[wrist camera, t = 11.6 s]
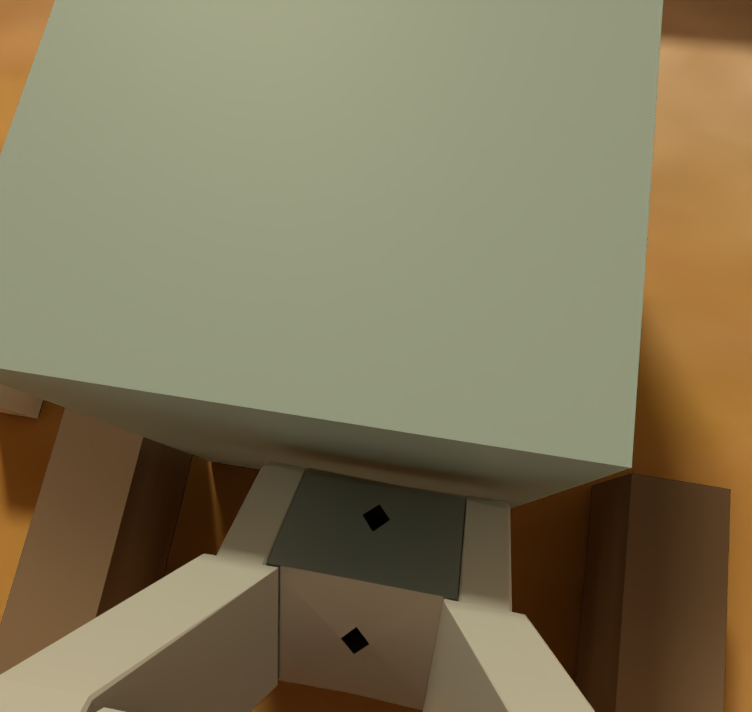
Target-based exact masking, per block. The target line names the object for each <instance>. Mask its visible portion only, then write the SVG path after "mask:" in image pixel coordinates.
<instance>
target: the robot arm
mask: <svg viewBox="0 0 752 712" xmlns="http://www.w3.org/2000/svg"><path fill="white" fill-rule="evenodd" d="M278 680H280V681H285V682H291V683H296V684H302V685H307V686H313V687H318V688H324V689H330V690H335V691H341V692H346V693H351V694H355V695H360V696H364V697H368V698H372V699H376V700H380V701H385V702H389V703H393V704H397V705H401V706H406V707H410V708H414V709H418V710H422V711H423V712H595V711H594V709H593V708H592V706H591V705H590V704H589V702H588V701H587V700H586V698H585V697H584V695H583V694H582V693H581V691H580V690H579V688H578V687H577V686H576V684H575V683H574V681H573V680H572V679H571V677H570V676H569V674H568V673H567V672H566V670H565V669H564V667H563V666H562V665H561V663H560V662H559V661H558V659H557V658H556V656H555V655H554V654H553V652H552V651H551V649H550V648H549V647H548V645H547V644H546V642H545V641H544V640H543V638H542V637H541V635H540V634H539V633H538V631H537V630H536V628H535V627H534V626H533V624H532V623H531V621H530V620H529V619H528V617H527V616H526V615H524V614H519V613H515V612H512V579H511V520H510V506H509V504H508V503H507V502H506V501H499V500H493V499H486V498H479V497H473V496H466V498H465V496H461V495H455V494H449V493H443V492H437V491H431V490H425V489H419V488H413V487H407V486H401V485H395V484H389V483H384V482H379V481H374V480H369V479H364V478H358V477H353V476H348V475H343V474H338V473H333V472H328V471H323V470H318V469H313V468H308V469H307V468H304V467H299V466H294V465H289V464H284V463H278V462H273V461H268V462H267V463H266V464H265V465H264V466H263V467H261V469H260V471H259V473H258V475H257V477H256V479H255V481H254V483H253V485H252V487H251V489H250V490H249V492H248V494H247V496H246V498H245V500H244V502H243V504H242V506H241V508H240V510H239V512H238V514H237V516H236V518H235V520H234V522H233V524H232V525H231V527H230V529H229V531H228V533H227V535H226V537H225V539H224V541H223V543H222V545H221V547H220V549H219V551H218V553H217V555H210V554H204V553H203V554H202V555H200V556H198V557H197V558H195V559H193V560H192V561H190V562H188V563H187V564H185V565H183V566H182V567H180V568H178V569H177V570H175V571H173V572H172V573H170V574H168V575H166V576H165V577H163V578H161V579H160V580H158V581H156V582H155V583H153V584H151V585H150V586H148V587H146V588H145V589H143V590H141V591H140V592H138V593H136V594H135V595H133V596H131V597H130V598H128V599H126V600H125V601H123V602H121V603H120V604H118V605H116V606H115V607H113V608H111V609H110V610H108V611H106V612H105V613H103V614H101V615H100V616H98V617H96V618H95V619H93V620H91V621H89V622H88V623H86V624H84V625H83V626H81V627H79V628H78V629H76V630H74V631H73V632H71V633H69V634H68V635H66V636H64V637H63V638H61V639H59V640H58V641H56V642H54V643H53V644H51V645H49V646H48V647H46V648H44V649H43V650H41V651H39V652H38V653H36V654H34V655H33V656H31V657H29V658H28V659H26V660H24V661H23V662H21V663H19V664H17V665H16V666H14V667H12V668H11V669H9V670H7V671H6V672H4V673H2V674H1V675H0V712H251V711H252V710H253V709H254V708H255V707H256V706H257V705H258V704H259V703H260V702H261V701H262V700H263V699H264V698H265V697H266V696H267V695H268V694H269V693H270V692H271V691H272V690H273V689H274V688H275V687H276V686H277V685H278Z"/></svg>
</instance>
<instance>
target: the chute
mask: <svg viewBox="0 0 752 712" xmlns="http://www.w3.org/2000/svg"><path fill="white" fill-rule="evenodd" d="M192 456H193V455H191V454H189V453H186V452H183V451H180V450H178V449H175V448H172V447H170V446H167V445H164V444H162V443H159V442H156V441H153V440H151V439H148V438H145V437H143V436H140V435H137V434H134V433H132V432H129V431H126V430H124V429H121V428H118V427H116V426H113V425H110V424H107V423H105V422H102V421H99V420H97V419H94V418H91V417H89V416H86V415H83V414H80V413H78V412H75V411H72V410H70V409H67V408H65V409H64V413H63V416H62V419H61V423H60V426H59V429H58V433H57V436H56V440H55V443H54V446H53V450H52V453H51V456H50V460H49V463H48V466H47V470H46V473H45V476H44V480H43V483H42V487H41V490H40V493H39V497H38V500H37V503H36V507H35V510H34V513H33V517H32V520H31V523H30V527H29V530H28V534H27V537H26V540H25V544H24V547H23V550H22V554H21V557H20V560H19V564H18V567H17V571H16V574H15V577H14V581H13V584H12V587H11V591H10V594H9V597H8V601H7V604H6V607H5V611H4V614H3V618H2V621H1V624H0V675H1V674H2V673H4V672H6V671H7V670H9V669H11V668H12V667H14V666H16V665H17V664H19V663H21V662H23V661H24V660H26V659H28V658H29V657H31V656H33V655H34V654H36V653H38V652H39V651H41V650H43V649H44V648H46V647H48V646H49V645H51V644H53V643H54V642H56V641H58V640H59V639H61V638H63V637H64V636H66V635H68V634H69V633H71V632H73V631H74V630H76V629H78V628H79V627H81V626H83V625H84V624H86V623H88V622H89V621H91V620H93V619H95V618H96V617H98V616H100V615H101V614H103V613H105V612H106V611H108V610H110V609H111V608H113V607H115V606H116V605H118V604H120V603H121V602H123V601H125V600H126V599H128V598H130V597H131V596H133V595H135V594H136V593H138V592H140V591H141V590H143V589H145V588H146V587H148V586H150V585H151V584H153V583H155V582H156V581H158V580H160V579H161V578H163V575H164V571H165V567H166V563H167V559H168V555H169V551H170V546H171V542H172V538H173V534H174V530H175V526H176V522H177V518H178V513H179V509H180V505H181V501H182V497H183V493H184V489H185V485H186V480H187V476H188V472H189V468H190V464H191V460H192ZM730 492H731V489H726V488H720V487H714V486H707V485H701V484H695V483H689V482H683V481H676V480H670V479H664V478H658V477H651V476H645V475H639V474H633V473H632V474H628V475H625V476H622V477H619V478H616V479H612V480H609V481H606V482H603V483H599V484H596V485H593V486H592V495H591V507H590V519H589V530H588V542H587V554H586V566H585V577H584V589H583V601H582V613H581V625H580V636H579V648H578V660H577V672H576V686H577V687H578V688H579V690H580V691H581V693H582V694H583V695H584V697H585V698H586V700H587V701H588V702H589V704H590V705H591V706H592V708H593V709H594V711H595V712H724V683H725V651H726V619H727V587H728V555H729V523H730Z"/></svg>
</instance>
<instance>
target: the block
mask: <svg viewBox="0 0 752 712" xmlns="http://www.w3.org/2000/svg"><path fill="white" fill-rule="evenodd" d="M662 11H663V0H55V3H54V6H53V8H52V11H51V14H50V17H49V20H48V22H47V25H46V28H45V31H44V34H43V36H42V39H41V42H40V45H39V48H38V50H37V53H36V56H35V59H34V62H33V64H32V67H31V70H30V73H29V76H28V78H27V81H26V84H25V87H24V90H23V92H22V95H21V98H20V101H19V104H18V106H17V109H16V112H15V115H14V118H13V120H12V123H11V126H10V129H9V132H8V134H7V137H6V140H5V143H4V146H3V149H2V151H1V154H0V384H2V385H5V386H7V387H10V388H13V389H15V390H18V391H21V392H24V393H26V394H29V395H32V396H34V397H37V398H40V399H43V400H45V401H48V402H51V403H53V404H56V405H59V406H61V407H64V408H67V409H70V410H72V411H75V412H78V413H80V414H83V415H86V416H89V417H91V418H94V419H97V420H99V421H102V422H105V423H107V424H110V425H113V426H116V427H118V428H121V429H124V430H126V431H129V432H132V433H134V434H137V435H140V436H143V437H145V438H148V439H151V440H153V441H156V442H159V443H162V444H164V445H167V446H170V447H172V448H175V449H178V450H180V451H183V452H186V453H189V454H191V455H194V456H197V457H199V458H202V459H205V460H208V461H210V462H216V463H222V464H228V465H234V466H240V467H246V468H252V469H258V470H260V469H261V467H263V466H264V465H265V464H266V463H267V462H268V461H273V462H278V463H284V464H289V465H294V466H299V467H304V468H307V469H308V468H313V469H318V470H323V471H328V472H333V473H338V474H343V475H348V476H353V477H358V478H364V479H369V480H374V481H379V482H384V483H389V484H395V485H401V486H407V487H413V488H419V489H425V490H431V491H437V492H443V493H449V494H455V495H461V496H465V498H466V496H473V497H479V498H486V499H493V500H499V501H506V502H507V503H508V504H509V506H510V509H512V508H515V507H518V506H520V505H523V504H526V503H529V502H532V501H535V500H538V499H541V498H544V497H547V496H550V495H553V494H556V493H559V492H562V491H565V490H568V489H571V488H574V487H577V486H580V485H583V484H586V483H589V482H592V481H595V480H597V479H600V478H603V477H606V476H609V475H612V474H615V473H618V472H621V471H624V470H627V469H630V468H632V457H633V442H634V427H635V412H636V397H637V382H638V367H639V353H640V338H641V323H642V308H643V293H644V278H645V263H646V249H647V234H648V219H649V204H650V189H651V174H652V159H653V145H654V130H655V115H656V100H657V85H658V70H659V55H660V40H661V26H662Z"/></svg>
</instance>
